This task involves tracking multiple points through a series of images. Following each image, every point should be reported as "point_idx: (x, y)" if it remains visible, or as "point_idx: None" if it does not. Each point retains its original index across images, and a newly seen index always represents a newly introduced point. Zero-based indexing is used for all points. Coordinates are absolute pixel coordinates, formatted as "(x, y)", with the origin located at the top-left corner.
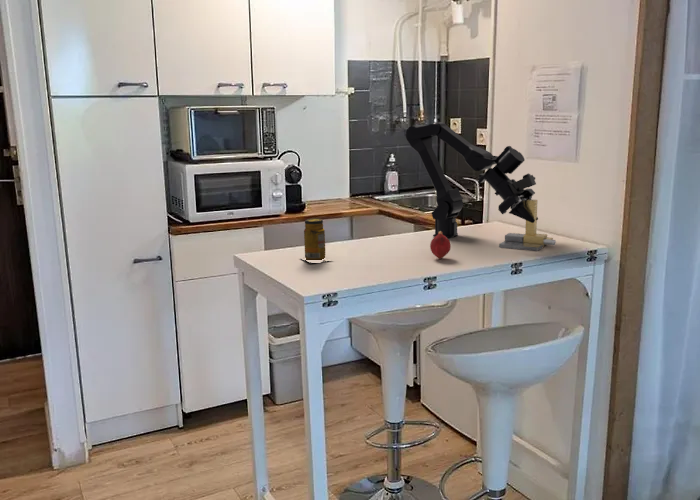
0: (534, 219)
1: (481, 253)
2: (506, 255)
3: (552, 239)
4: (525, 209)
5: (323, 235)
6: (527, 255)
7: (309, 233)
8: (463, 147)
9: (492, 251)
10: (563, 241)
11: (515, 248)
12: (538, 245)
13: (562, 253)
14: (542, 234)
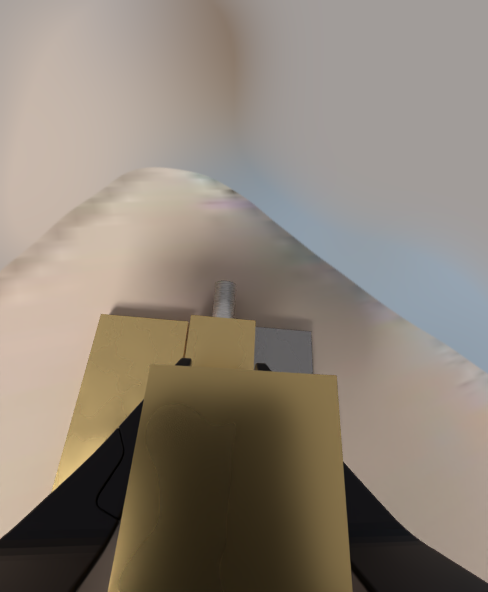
0: (262, 367)
1: (449, 549)
2: (419, 424)
3: (107, 316)
4: (355, 480)
5: None
6: (380, 351)
7: None
8: None
9: (394, 513)
10: (109, 276)
11: None
12: (275, 338)
13: (303, 256)
14: (198, 335)
